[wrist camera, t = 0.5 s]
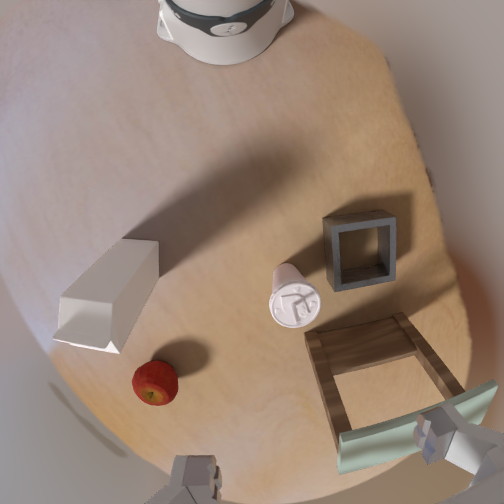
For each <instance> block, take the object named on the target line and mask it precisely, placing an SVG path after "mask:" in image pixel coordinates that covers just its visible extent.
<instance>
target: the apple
mask: <svg viewBox="0 0 504 504" xmlns="http://www.w3.org/2000/svg"><path fill="white" fill-rule="evenodd" d="M132 385H133V389H134V392H135V393H136V395H137V396H138V397H139V398H140V399H141V400H142V401H143V402H145V403H147V404H149V405H156V406H160V405H166V404H168V403H169V402H171V401H172V400H173V399H174V398H175V396H176V394H177V392H178V378H177V374H176V372H175V371H174V369H173V367H172V366H170V365H169V364H168V363H165V362H162V361H156V360H154V361H150V362H147V363H145V364H144V365H142V366H141V367H139V368H138V369H137V370H136V371H135V374H134V376H133V379H132Z"/></svg>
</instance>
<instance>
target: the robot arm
mask: <svg viewBox="0 0 504 504" xmlns="http://www.w3.org/2000/svg"><path fill="white" fill-rule="evenodd" d="M158 2H159V3H161V4H160V12H159V19H158V27H157V33H158V36H159V37H160V38H161V39H163V40H166V41H169V42H172V43H176V44H177V45H179V46H180V47H181V48H182V49H183V50H184V51H185V52H186V53H188V54H189V55H190V56H192V57H194V58H195V59H198V60H200V61H202V62H206V63H210V64H216V65H230V64H237V63H241V62H244V61H247V60H249V59H251V58H253V57H255V56H257V55H259V54H260V53H261V52H263V51H264V50H265V49H266V48H267V47H268V46H269V45H270V43H271V42H272V41H273V39H274V37H275V36H276V34H277V32H278V30H279V29H280V28H281V27H283V26H284V25H286V24H287V23H289V22H290V21H291V20H292V19H293V17H294V10H293V7H292V5H291V3H290V1H289V0H158ZM164 25H165V26H164ZM416 422H417V423H418V424H417V425H416V426H415V428H414V432H413V437H414V441H415V444H416V446H417V447H418V448H420V449H422V450H423V451H422V456H423V458H424V459H425V461H426V463H427V465H428V464H431V463H433V462H436V461H438V460H441V459H443V458H445V459H446V460H448V461H450V462H452V463H453V464H455V465H457V466H459V467H461V468H463V469H465V470H467V471H469V472H471V473H472V474H475V476H474V478H473V480H472V481H471V483H470V485H469V488H467V489H465V490H463V491H461V492H460V493H458V494H456V495H453V496H451V497H449V498H447V499H445V500H443V501H441V502H439V503H437V504H504V433H501V432H498V431H495V430H492V429H489V428H485V427H482V426H479V425H476V424H473V423H470V424H468V423H467V422H466V420H465V419H464V418H463V417H462V416H461V414H460V413H459V412H458V411H457V409H456V408H455V407H454V406H453V405H452V403H450V402H448V403H446V404H444V405H441V406H439V407H436V408H433V409H431V410H428V411H425V412H423V413H420V414H418V416H417V418H416ZM221 487H222V476H221V471H220V468H219V466H217V465H216V458H215V456H214V455H176V457H175V458H174V462H173V467H172V471H171V476H170V481H169V485H168V486H164V487H163V488H162V489H161V490H159V491H158V492H157V493H156V494H155V495H154V496H153V497H151V498H150V499H149V500H148V501H147V502H146V503H144V504H221V494H220V491H219V489H220V488H221Z"/></svg>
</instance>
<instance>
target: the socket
mask: <svg viewBox="0 0 504 504" xmlns="http://www.w3.org/2000/svg"><path fill="white" fill-rule="evenodd" d="M322 220H323V232H324V245H325V259H326V274H327V280H328V282H329V284H330V285H331V287H332V289H333V290H334V292H338V291H343V290H349V289H354V288H359V287H365V286H370V285H375V284H380V283H385V282H390V281H394V280H395V276H396V217H395V216H393V215H392V214H390V213H388V212H386V211H384V210H377V211H370V212H362V213H355V214H347V215H340V216H333V217H326V218H322ZM372 227H378V264H375V265H369V266H364V267H358V268H353V269H347V270H341V267H340V247H339V232H345V231H352V230H359V229H366V228H372Z"/></svg>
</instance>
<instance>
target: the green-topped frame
mask: <svg viewBox="0 0 504 504" xmlns="http://www.w3.org/2000/svg"><path fill="white" fill-rule="evenodd" d="M304 335H305V344H306V347H307V350H308V354H309V357H310V360H311V364H312V367H313V370H314V374H315V377H316V380H317V384H318V387H319V390H320V394H321V397H322V401H323V404H324V407H325V411H326V414H327V418H328V421H329V425H330V428H331V432H332V435H333V439H334V442H335V446H336V449H337V453H338V459H337V470H338V473H339V475H341V474H345V473H349V472H353V471H357V470H361V469H365V468H368V467H372V466H375V465H379V464H382V463H385V462H388V461H391V460H394V459H397V458H400V457H403V456H406V455H409V454H412V453H414V452H417V451H420V450H422V449H420V448H418V447H417V446H416V444H415V441H414V437H413V432H414V428H415V426H416V425H417V424H418V423H417V422H416V418H417V416H418V414H420V413H423V412H425V411H428V410H431V409H433V408H436V407H439V406H441V405H444V404H446V403H448V402H450V403H452V405H453V406H454V407H455V408H456V409H457V411H458V412H459V413H460V414H461V416H462V417H463V418H464V419H465V420H466V422H467V423H468V424H470V423H473V424H476V425H478V424H480V423H481V421H482V419H483V417H484V415H485V413H486V411H487V409H488V407H489V405H490V403H491V401H492V399H493V396H494V394H495V392H496V390H497V387H498V384H497V383H496V381H495V380H494V379H492V380H490V381H488V382H486V383H484V384H482V385H480V386H478V387H475V388H473V389H471V390H469V391H466V392H465V390H464V389H463V388H462V386H461V385H460V384H459V382H458V381H457V380H456V378H455V377H454V376H453V374H452V373H451V372H450V370H449V369H448V368H447V366H446V365H445V364H444V363H443V361H442V360H441V359H440V358H439V356H438V355H437V354H436V352H435V351H434V350H433V349H432V347H431V346H430V345H429V344H428V342H427V341H426V340H425V339H424V338H423V336H422V335H421V334H420V333H419V331H418V330H417V329H416V328H415V327H414V325H413V324H412V323H411V322H410V321H409V319H408V318H407V317H406V316H405V315H404V313H403V312H402V313H398V314H393V317H392V318H388V319H384V320H380V321H376V322H371V323H367V324H362V325H357V326H353V327H348V328H343V329H338V330H333V331H328V332H323V333H317V332H316V331H312V332H306V333H304ZM413 355H415V356H416V358H417V359H418V361H419V362H420V363H421V365H422V366H423V368H424V369H425V371H426V372H427V374H428V375H429V376H430V378H431V379H432V381H433V382H434V384H435V385H436V387H437V388H438V390H439V391H440V393H441V394H442V396H443V397H444V399H445V401H443V402H440V403H438V404H435V405H432V406H430V407H427V408H424V409H421V410H419V411H416V412H413V413H410V414H407V415H404V416H401V417H398V418H395V419H391V420H388V421H385V422H381V423H378V424H374V425H371V426H367V427H363V428H359V429H355V430H352V428H351V425H350V422H349V420H348V417H347V414H346V411H345V408H344V405H343V403H342V400H341V397H340V394H339V391H338V389H337V386H336V383H335V380H334V378H333V376H334V375H338V374H343V373H347V372H352V371H356V370H360V369H365V368H369V367H373V366H377V365H380V364H384V363H388V362H392V361H395V360H399V359H402V358H406V357H409V356H413Z"/></svg>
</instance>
